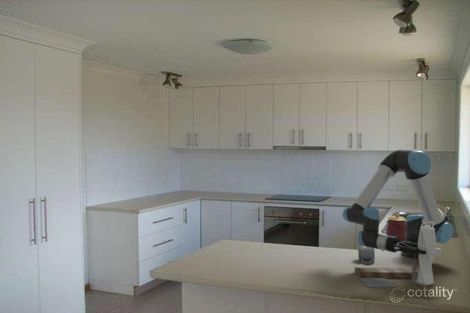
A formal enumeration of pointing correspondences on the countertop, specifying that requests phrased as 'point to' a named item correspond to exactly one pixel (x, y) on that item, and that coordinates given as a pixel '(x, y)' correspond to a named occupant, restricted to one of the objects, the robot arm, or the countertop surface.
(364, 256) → the ceramic mug
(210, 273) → the countertop surface
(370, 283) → the end pad
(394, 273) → the walnut board
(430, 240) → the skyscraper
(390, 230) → the canister
